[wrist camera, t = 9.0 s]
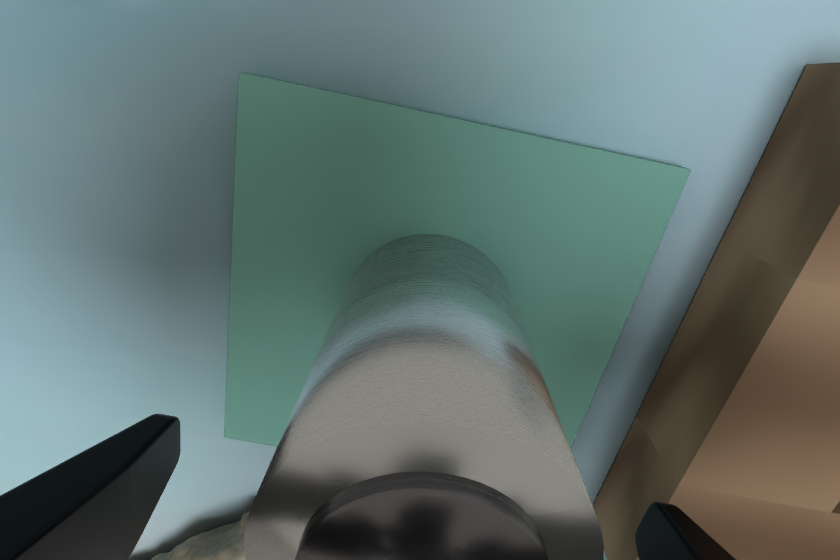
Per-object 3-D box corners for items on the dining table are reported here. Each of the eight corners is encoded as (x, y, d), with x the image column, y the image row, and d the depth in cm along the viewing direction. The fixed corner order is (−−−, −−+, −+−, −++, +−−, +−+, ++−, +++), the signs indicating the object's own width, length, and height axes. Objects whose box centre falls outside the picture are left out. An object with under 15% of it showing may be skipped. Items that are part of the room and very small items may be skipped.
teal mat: (548, 483, 17) (551, 494, 17) (229, 427, 17) (224, 437, 16) (681, 166, 13) (690, 169, 12) (246, 72, 12) (238, 72, 12)
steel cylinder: (489, 397, 15) (548, 720, 7) (334, 371, 15) (228, 675, 7) (533, 252, 13) (676, 484, 5) (355, 218, 13) (238, 412, 5)
